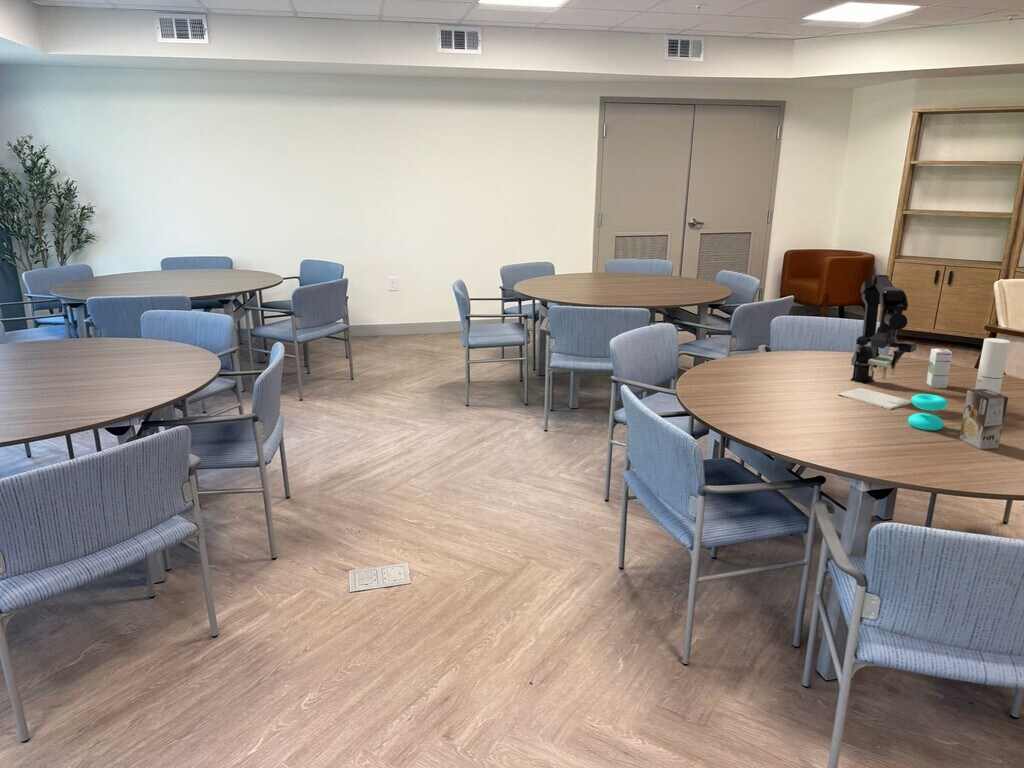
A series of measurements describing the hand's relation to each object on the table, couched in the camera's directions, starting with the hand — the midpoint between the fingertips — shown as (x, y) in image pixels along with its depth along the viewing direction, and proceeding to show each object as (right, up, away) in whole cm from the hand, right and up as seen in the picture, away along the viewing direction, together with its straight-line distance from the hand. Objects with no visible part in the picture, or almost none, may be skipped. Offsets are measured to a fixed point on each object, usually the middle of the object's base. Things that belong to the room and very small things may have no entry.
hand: (882, 366), depth 246 cm
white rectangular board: (-2, -12, +3) cm, 12 cm away
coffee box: (+7, -25, -41) cm, 48 cm away
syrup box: (+31, -7, +18) cm, 36 cm away
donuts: (0, -20, -26) cm, 33 cm away
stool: (0, -3, +1) cm, 3 cm away
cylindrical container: (+29, -16, -11) cm, 35 cm away
